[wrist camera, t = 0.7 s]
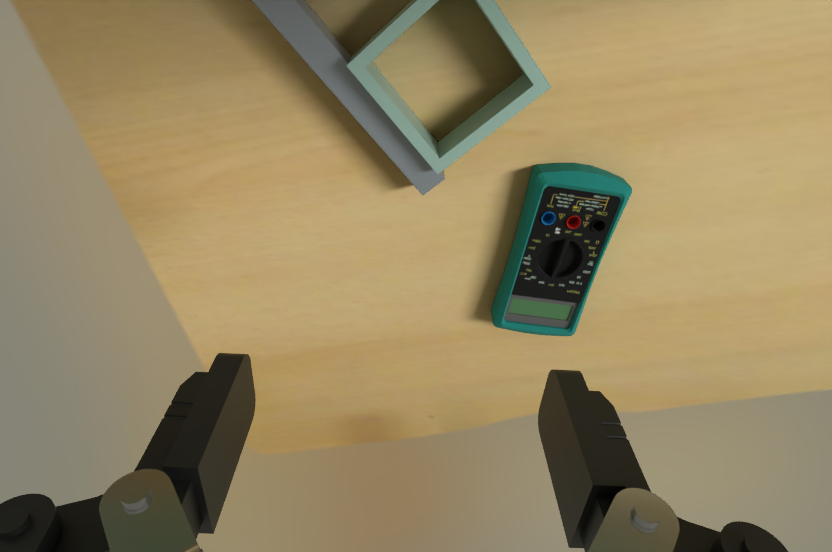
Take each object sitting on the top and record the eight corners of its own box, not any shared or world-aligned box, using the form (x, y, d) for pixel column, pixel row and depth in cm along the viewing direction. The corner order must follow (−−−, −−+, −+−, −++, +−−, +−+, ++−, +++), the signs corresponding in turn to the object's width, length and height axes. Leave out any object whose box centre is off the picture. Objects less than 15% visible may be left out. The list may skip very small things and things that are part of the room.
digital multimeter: (626, 169, 40) (640, 183, 37) (566, 322, 48) (574, 343, 45) (533, 154, 39) (541, 168, 37) (488, 312, 47) (492, 332, 45)
